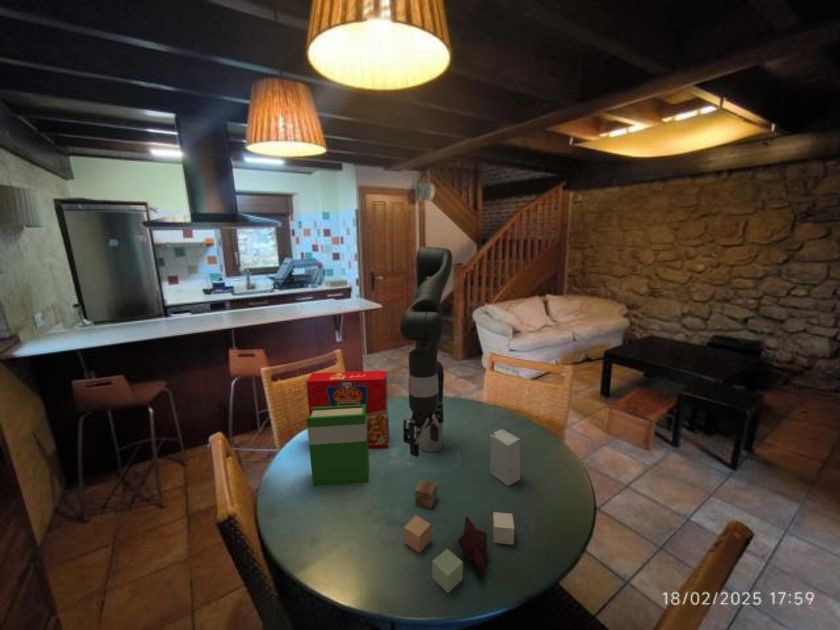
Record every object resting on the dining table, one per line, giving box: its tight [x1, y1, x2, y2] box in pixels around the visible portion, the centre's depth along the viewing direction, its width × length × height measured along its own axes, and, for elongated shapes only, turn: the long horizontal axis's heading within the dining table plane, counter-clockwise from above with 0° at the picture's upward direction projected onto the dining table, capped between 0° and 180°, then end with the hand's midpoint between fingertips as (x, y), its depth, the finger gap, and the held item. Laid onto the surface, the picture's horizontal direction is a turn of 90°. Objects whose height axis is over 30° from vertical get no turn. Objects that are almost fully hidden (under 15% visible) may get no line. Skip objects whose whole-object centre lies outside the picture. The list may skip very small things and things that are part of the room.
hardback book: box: [306, 404, 370, 487], centre depth 117 cm, size 18×7×24 cm, turn 95°
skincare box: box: [489, 428, 521, 487], centre depth 117 cm, size 8×6×15 cm
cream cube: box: [492, 511, 515, 545], centre depth 95 cm, size 5×5×5 cm
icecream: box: [457, 516, 488, 578], centre depth 90 cm, size 7×7×15 cm
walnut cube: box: [414, 479, 438, 510], centre depth 108 cm, size 5×5×5 cm
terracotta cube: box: [403, 515, 432, 554], centre depth 94 cm, size 5×5×5 cm
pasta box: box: [305, 370, 390, 450], centre depth 136 cm, size 28×8×28 cm, turn 92°
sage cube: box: [431, 548, 464, 594], centre depth 84 cm, size 5×5×5 cm
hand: (424, 447), depth 94 cm, fingers open, 8 cm apart
